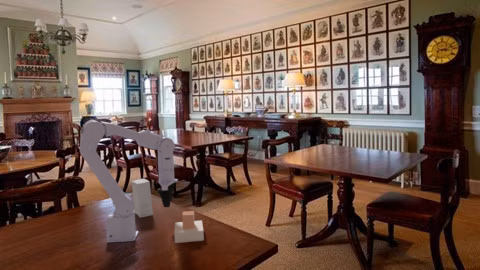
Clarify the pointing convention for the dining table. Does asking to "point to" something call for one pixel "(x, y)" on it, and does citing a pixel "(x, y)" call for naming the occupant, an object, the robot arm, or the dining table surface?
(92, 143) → the robot arm
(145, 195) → the skincare box
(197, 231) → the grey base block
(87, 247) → the dining table surface
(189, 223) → the terracotta block
